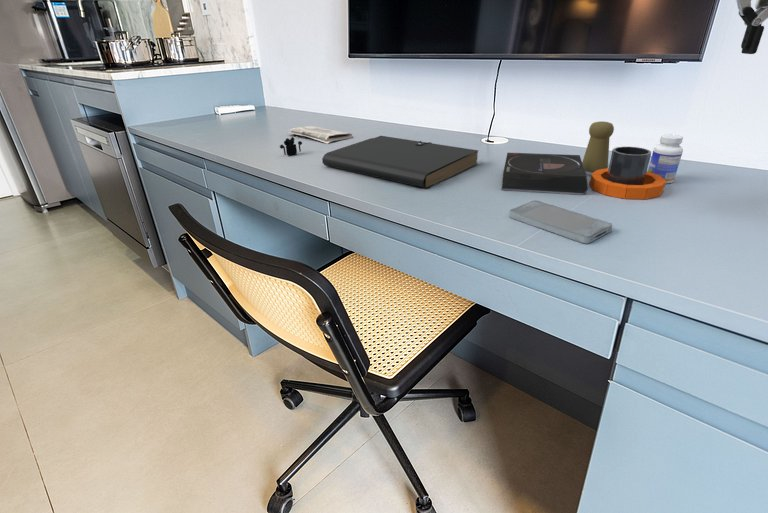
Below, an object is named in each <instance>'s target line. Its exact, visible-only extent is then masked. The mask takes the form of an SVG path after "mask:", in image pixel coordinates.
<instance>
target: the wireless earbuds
mask: <svg viewBox="0 0 768 513" xmlns="http://www.w3.org/2000/svg"><path fill="white" fill-rule="evenodd" d="M297 144H298V149H297ZM297 144H296V143H295V138H294V137H293V136H292V137H290V138H288V137H287V138H285V140H284V141H283V144H280V145H279V148H280V149H281V150H283V154H284V156H286V155H287V156H290V157H291V156H294V155H295V156H296V155H297V153H298V151H299V153H301V152H302V149H301V145H303V142H302V140H299V141H297Z"/></svg>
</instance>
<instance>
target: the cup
mask: <svg viewBox="0 0 768 513" xmlns="http://www.w3.org/2000/svg"><path fill="white" fill-rule="evenodd" d="M651 157H652V151H651V150H650V149H647V148H644V147H639V146H617V147H614V148H613V149H612V151H611V154H610V159H609V163H608V168H609V169H608V174H607V179H606V180H608V181H611V182H614V183H620V184H625V185H644V181H645V177H646V172H647V171H648V169H649V165H650V161H651Z"/></svg>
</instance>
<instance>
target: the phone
mask: <svg viewBox="0 0 768 513" xmlns="http://www.w3.org/2000/svg"><path fill="white" fill-rule="evenodd" d="M509 218H510V219H513V220H516V221H519V222H521V223H525V224H527V225H530V226H532V227H536V228H538V229H541V230H543V231H547V232H550V233H552V234H555V235H558V236H561V237H564V238H566V239H568V240H569V239H570V240H572V241H575V242H577V243H581V244H585V245H588V244H591V243H593V242H595V241H596V240H598V239H600V238H602V237H603V236H605V235H608V234H609V233H611V231H612V229H613V223H611V222H609V221H606V220H601V219H600V218H599V219H598V218H595V217H592V216H589V215H587V214H582V213H579V212H575V211H573V210H569V209H567V208H566V209H565V208H562V207H560V206H556V205H553V204H549V203H546V202H543V201H539V200H532V201H529V202H526V203H523V204H521V205H519V206H516V207H513V208H511V209H510V210H509Z"/></svg>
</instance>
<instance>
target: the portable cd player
mask: <svg viewBox="0 0 768 513" xmlns="http://www.w3.org/2000/svg"><path fill="white" fill-rule="evenodd" d="M582 162H583V160H582V158H581V155H580V154H559V153H557V154H555V153H534V152H533V153H529V152H525V153H524V152H507V153H506V157H505V162H504V168H503V173H502V181H501V182H502V183H501V191H511V192H527V193H529V192H530V193H544V194H545V193H546V194H559V195H561V194H562V195H578V196H579V195H580V196H583V195H585V193H586V192H587V191H588V175H587V173H586V171H585V170H584V167H583V164H582Z"/></svg>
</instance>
